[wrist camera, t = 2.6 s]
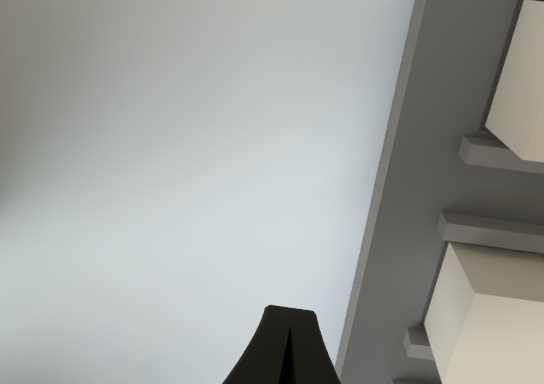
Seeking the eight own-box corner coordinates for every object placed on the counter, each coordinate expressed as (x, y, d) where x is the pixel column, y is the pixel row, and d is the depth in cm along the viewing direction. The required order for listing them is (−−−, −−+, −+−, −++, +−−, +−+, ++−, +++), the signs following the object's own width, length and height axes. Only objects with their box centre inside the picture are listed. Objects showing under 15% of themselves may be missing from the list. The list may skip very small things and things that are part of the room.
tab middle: (423, 323, 17) (442, 384, 15) (449, 241, 16) (474, 293, 13) (506, 335, 17) (540, 398, 15) (540, 253, 16) (583, 308, 13)
